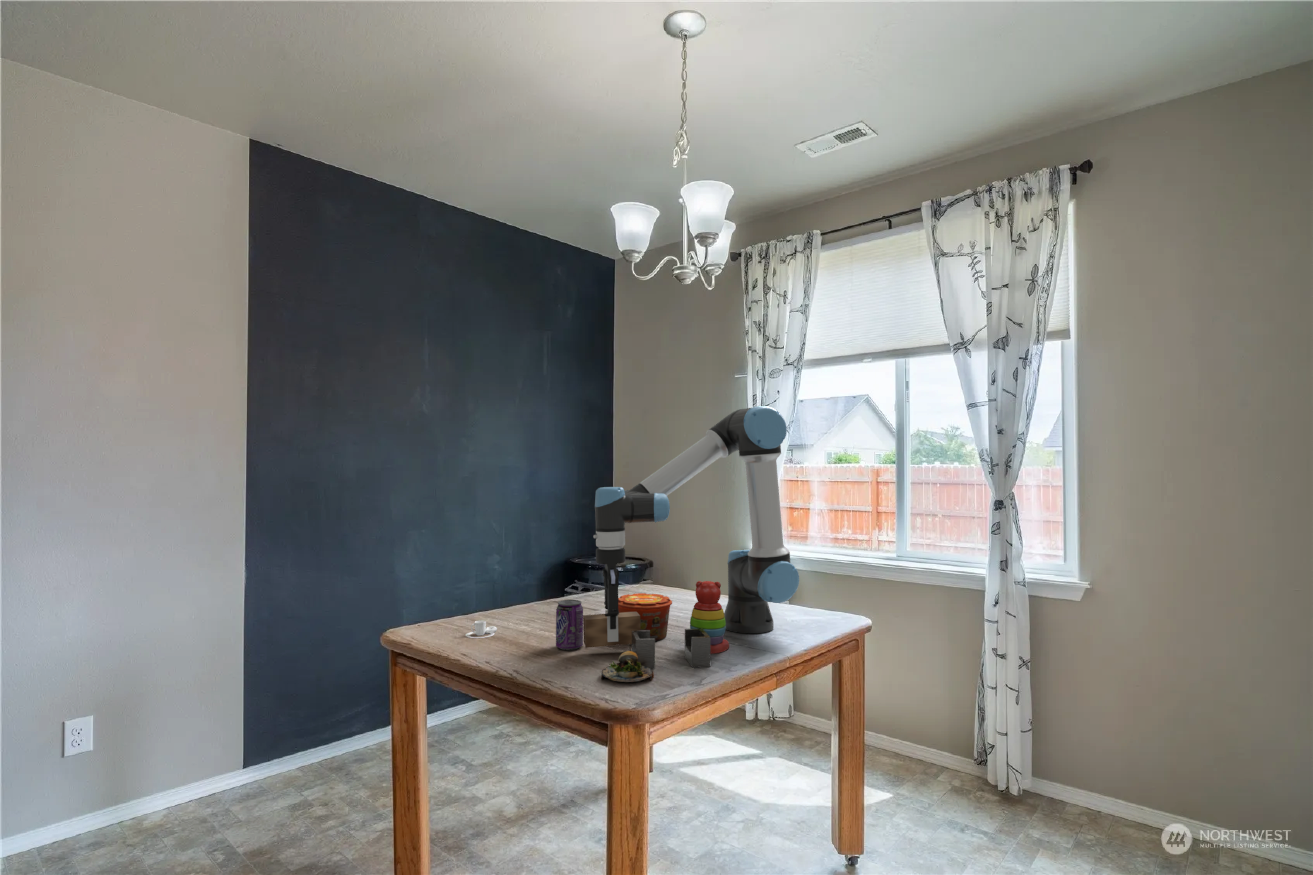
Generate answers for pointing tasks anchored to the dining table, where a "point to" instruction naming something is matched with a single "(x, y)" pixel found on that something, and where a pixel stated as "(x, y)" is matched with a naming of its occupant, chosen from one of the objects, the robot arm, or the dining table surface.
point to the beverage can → (569, 624)
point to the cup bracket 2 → (697, 647)
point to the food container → (648, 612)
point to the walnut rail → (598, 629)
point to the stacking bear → (710, 615)
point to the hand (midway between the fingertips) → (611, 638)
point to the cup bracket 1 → (644, 647)
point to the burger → (627, 669)
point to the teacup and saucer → (482, 629)
